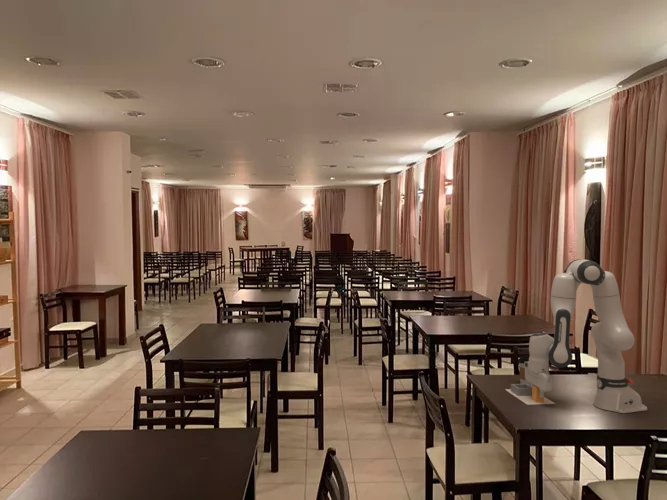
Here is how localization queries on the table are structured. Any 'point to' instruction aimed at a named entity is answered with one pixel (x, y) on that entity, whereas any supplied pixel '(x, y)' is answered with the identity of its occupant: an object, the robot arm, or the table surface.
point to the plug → (536, 394)
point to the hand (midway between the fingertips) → (538, 395)
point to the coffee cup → (523, 370)
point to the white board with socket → (525, 394)
